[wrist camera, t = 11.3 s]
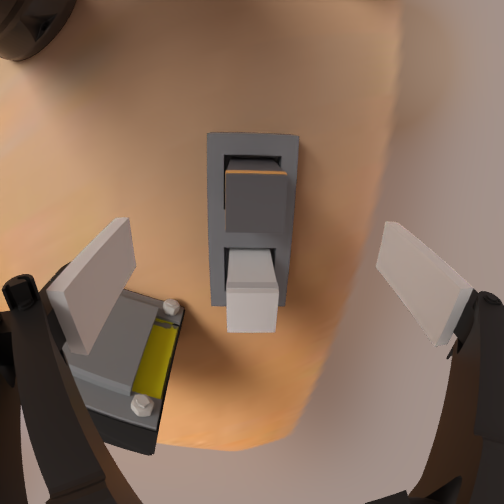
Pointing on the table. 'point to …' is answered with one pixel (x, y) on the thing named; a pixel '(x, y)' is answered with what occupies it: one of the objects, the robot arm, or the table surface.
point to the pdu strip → (218, 158)
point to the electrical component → (129, 370)
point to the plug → (255, 196)
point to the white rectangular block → (251, 291)
